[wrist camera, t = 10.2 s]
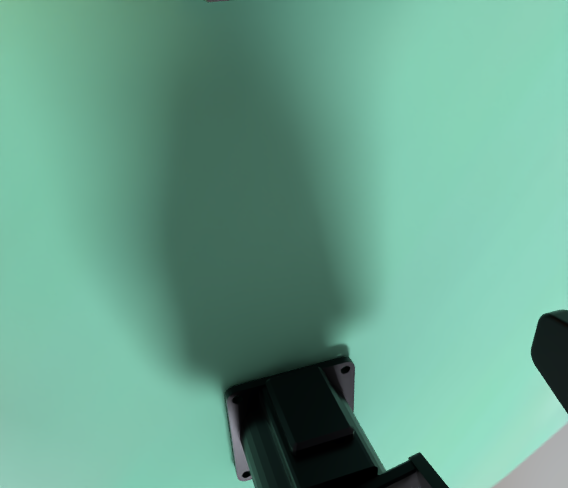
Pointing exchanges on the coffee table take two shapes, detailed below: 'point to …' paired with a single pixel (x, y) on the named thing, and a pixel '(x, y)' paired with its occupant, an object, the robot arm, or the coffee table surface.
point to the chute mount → (214, 0)
